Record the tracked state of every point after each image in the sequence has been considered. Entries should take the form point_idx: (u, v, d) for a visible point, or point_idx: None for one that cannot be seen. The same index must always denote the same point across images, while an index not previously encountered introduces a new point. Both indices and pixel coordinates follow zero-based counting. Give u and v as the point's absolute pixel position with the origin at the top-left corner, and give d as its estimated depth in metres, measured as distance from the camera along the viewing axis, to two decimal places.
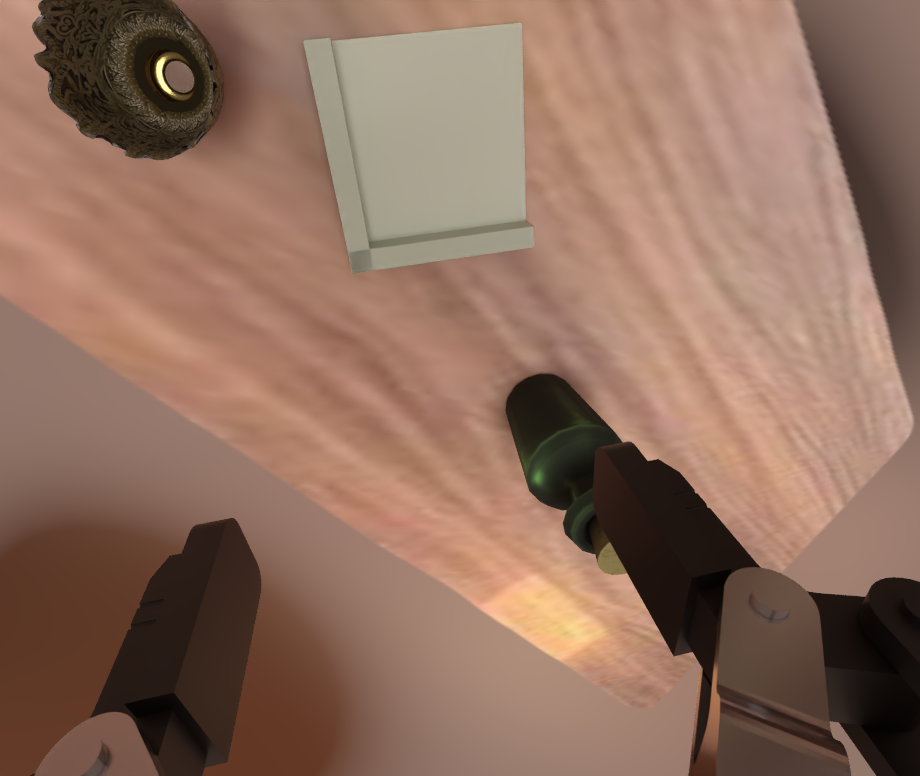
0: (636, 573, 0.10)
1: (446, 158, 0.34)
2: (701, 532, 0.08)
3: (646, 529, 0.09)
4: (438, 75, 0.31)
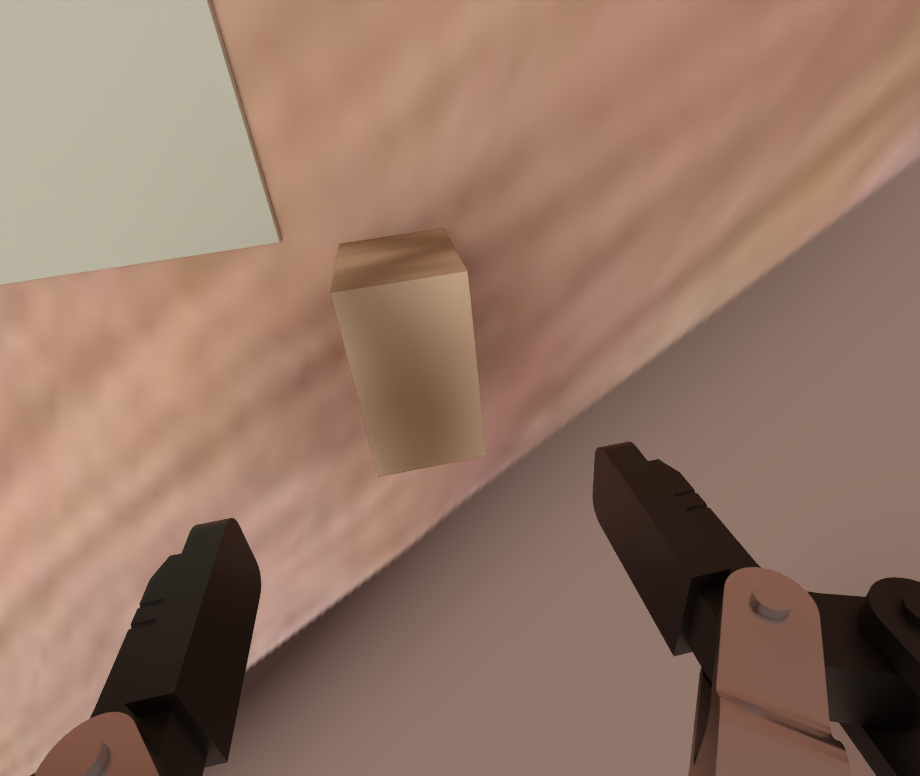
0: (636, 573, 0.10)
1: None
2: (701, 532, 0.08)
3: (646, 529, 0.09)
4: (145, 69, 0.15)
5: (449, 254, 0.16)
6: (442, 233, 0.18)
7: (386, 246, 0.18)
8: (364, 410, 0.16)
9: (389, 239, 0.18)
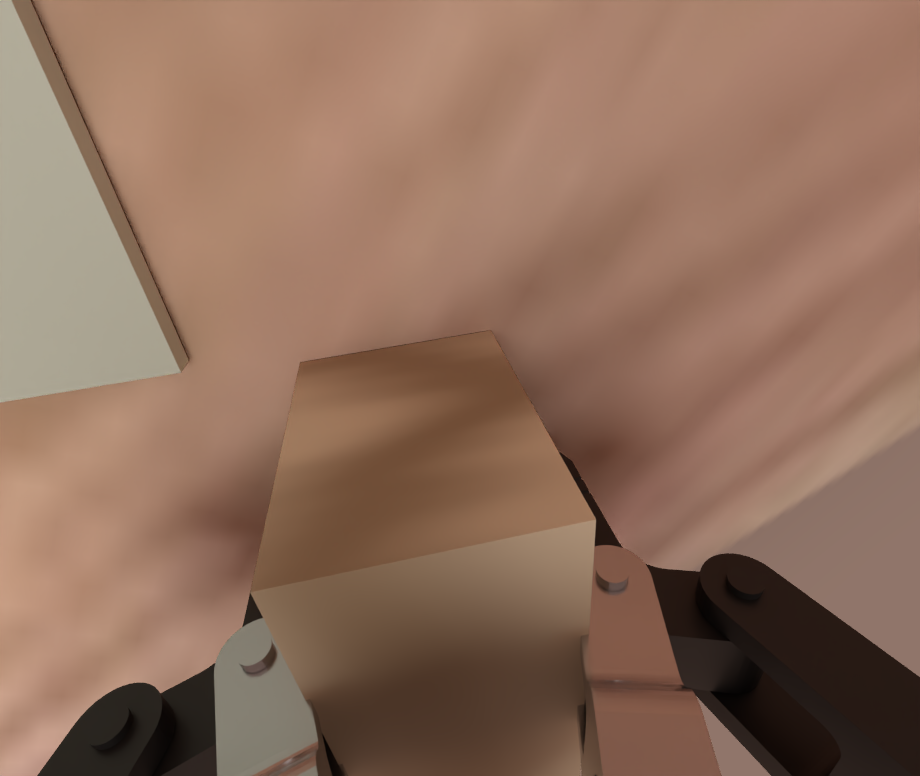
0: None
1: None
2: None
3: None
4: None
5: (529, 432, 0.07)
6: (494, 348, 0.10)
7: (389, 382, 0.09)
8: (343, 759, 0.08)
9: (393, 359, 0.10)
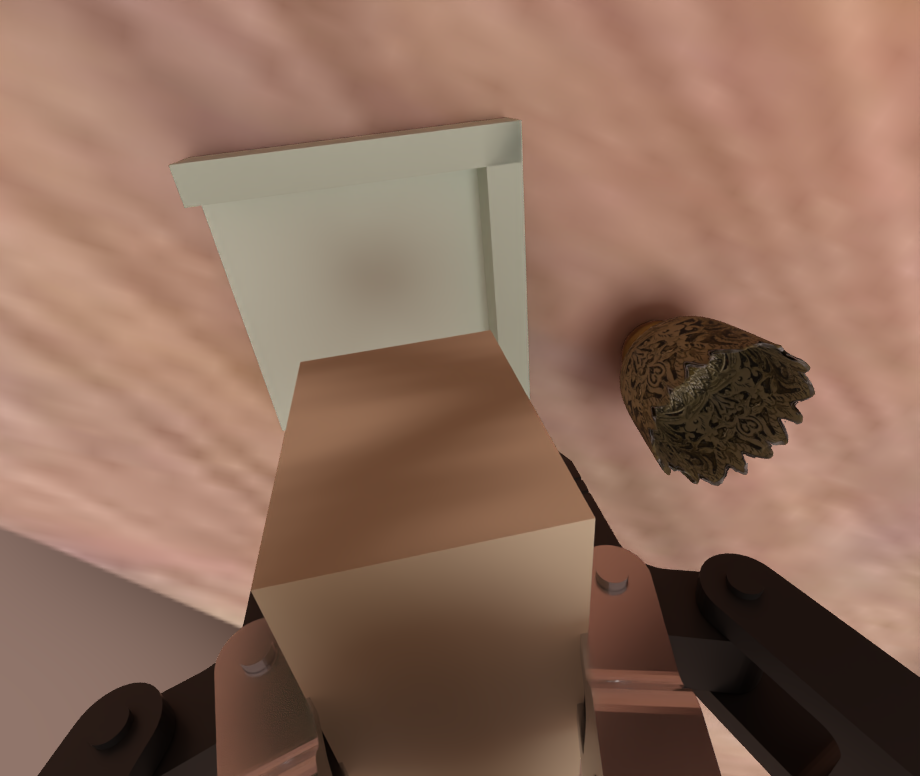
0: None
1: (357, 289, 0.24)
2: None
3: None
4: None
5: (528, 430, 0.07)
6: (493, 348, 0.10)
7: (389, 382, 0.09)
8: (343, 757, 0.08)
9: (393, 358, 0.10)
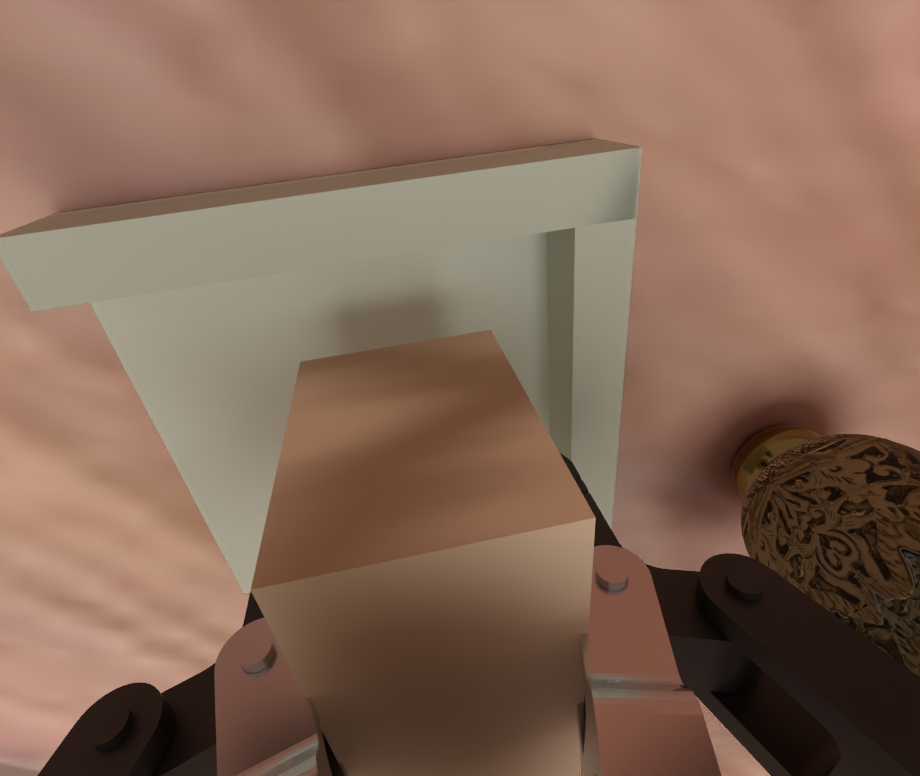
0: None
1: None
2: None
3: None
4: None
5: (529, 430, 0.07)
6: (494, 347, 0.10)
7: (389, 382, 0.09)
8: (343, 757, 0.08)
9: (393, 358, 0.10)
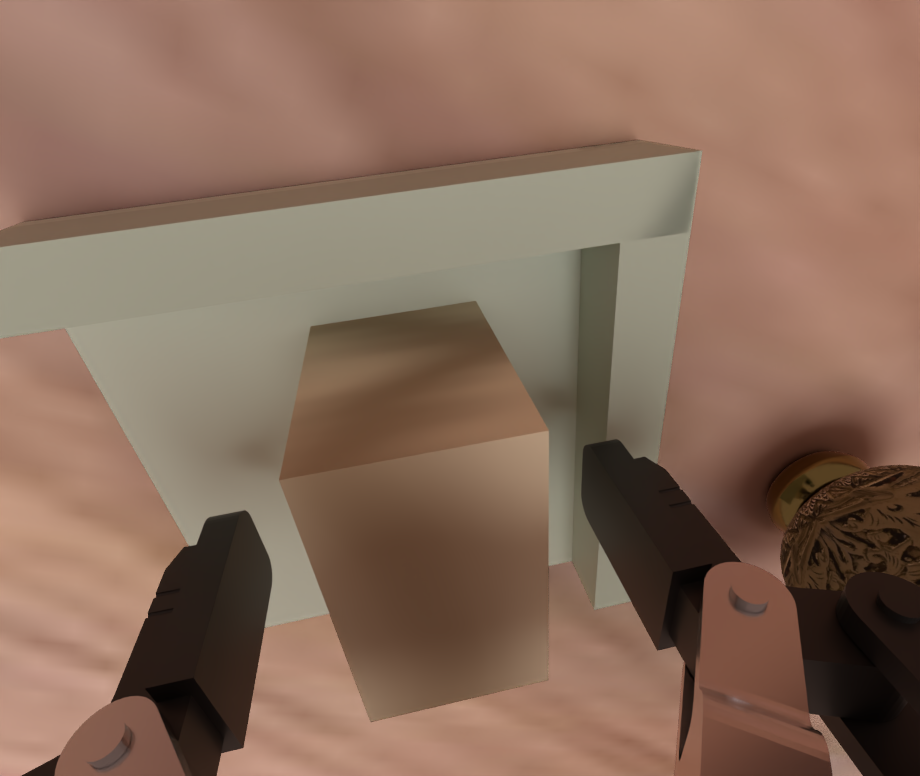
0: (621, 569, 0.10)
1: None
2: (684, 528, 0.09)
3: (630, 525, 0.09)
4: None
5: (501, 373, 0.09)
6: (477, 314, 0.11)
7: (387, 340, 0.11)
8: (347, 644, 0.09)
9: (391, 323, 0.11)
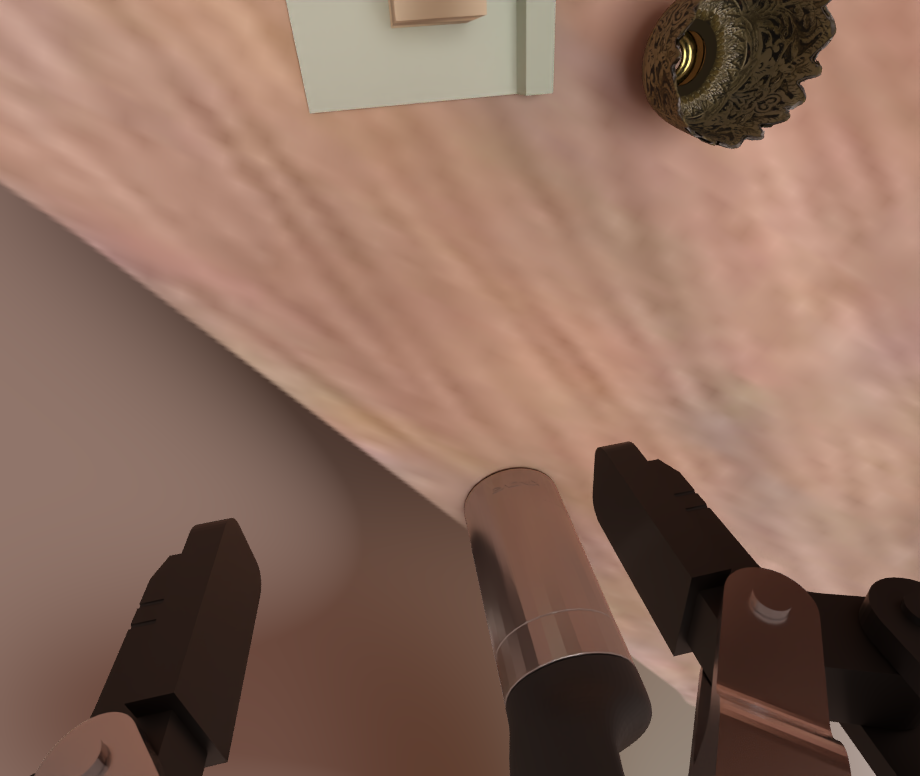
0: (636, 573, 0.10)
1: None
2: (701, 532, 0.08)
3: (646, 529, 0.09)
4: (403, 54, 0.27)
5: None
6: None
7: None
8: None
9: None
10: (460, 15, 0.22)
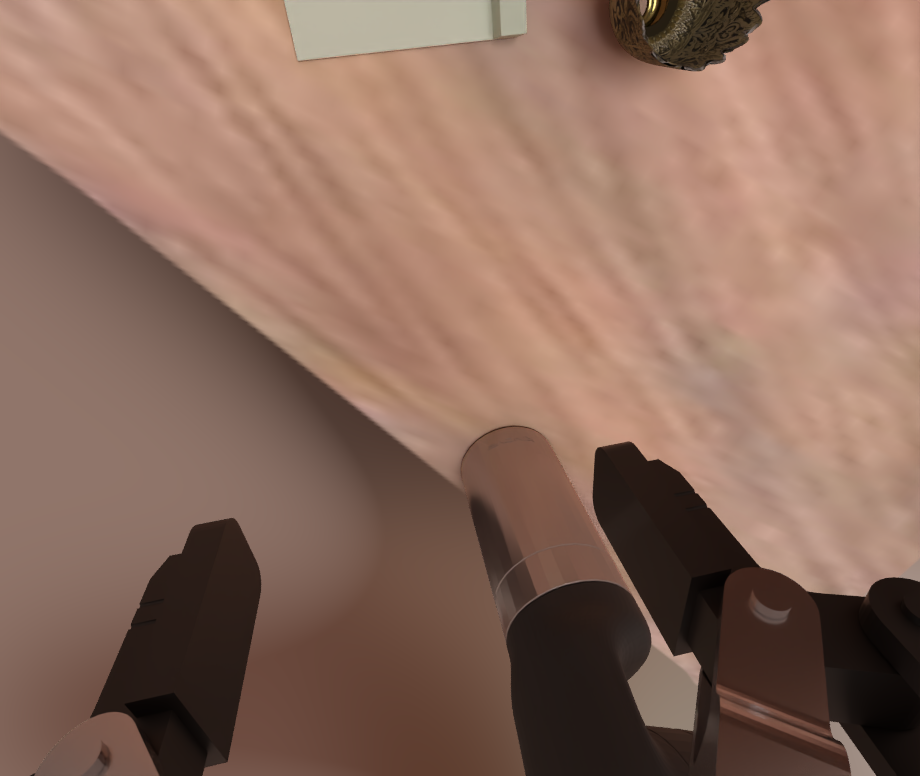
0: (636, 573, 0.10)
1: None
2: (701, 532, 0.08)
3: (646, 529, 0.09)
4: (384, 1, 0.28)
5: None
6: None
7: None
8: None
9: None
10: None
